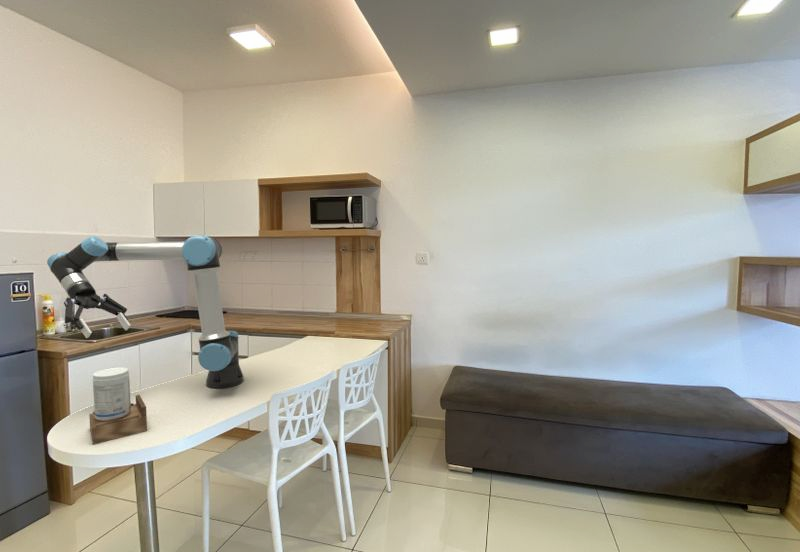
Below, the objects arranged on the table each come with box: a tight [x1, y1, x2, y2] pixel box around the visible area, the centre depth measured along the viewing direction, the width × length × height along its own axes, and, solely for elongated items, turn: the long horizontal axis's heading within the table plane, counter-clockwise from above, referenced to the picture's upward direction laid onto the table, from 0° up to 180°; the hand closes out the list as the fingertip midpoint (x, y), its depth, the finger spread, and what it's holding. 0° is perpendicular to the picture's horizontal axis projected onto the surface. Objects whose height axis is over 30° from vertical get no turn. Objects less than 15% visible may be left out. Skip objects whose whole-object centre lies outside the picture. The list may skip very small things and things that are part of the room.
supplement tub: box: [92, 366, 132, 421], centre depth 127 cm, size 10×10×15 cm
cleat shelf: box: [88, 394, 148, 445], centre depth 129 cm, size 14×14×8 cm
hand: (109, 331), depth 141 cm, fingers open, 13 cm apart
